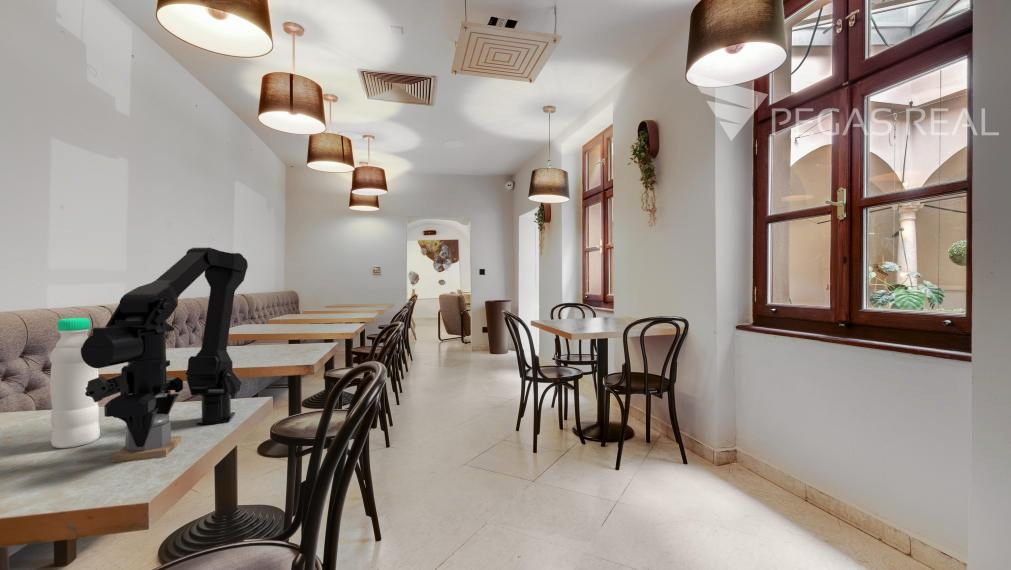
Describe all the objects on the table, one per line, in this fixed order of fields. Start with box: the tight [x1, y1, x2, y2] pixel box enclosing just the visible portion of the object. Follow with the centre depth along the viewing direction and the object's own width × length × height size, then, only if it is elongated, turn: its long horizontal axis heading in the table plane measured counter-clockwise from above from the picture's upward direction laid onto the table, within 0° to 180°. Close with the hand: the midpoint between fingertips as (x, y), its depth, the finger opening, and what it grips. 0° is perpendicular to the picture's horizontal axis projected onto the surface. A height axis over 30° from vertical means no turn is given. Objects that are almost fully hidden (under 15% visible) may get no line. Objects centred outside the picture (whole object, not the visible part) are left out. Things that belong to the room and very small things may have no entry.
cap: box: [124, 414, 172, 452], centre depth 86 cm, size 6×6×5 cm
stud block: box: [112, 435, 182, 463], centre depth 86 cm, size 8×8×5 cm
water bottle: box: [49, 317, 101, 449], centre depth 91 cm, size 7×7×25 cm
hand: (148, 439), depth 86 cm, fingers closed on cap, 7 cm apart
